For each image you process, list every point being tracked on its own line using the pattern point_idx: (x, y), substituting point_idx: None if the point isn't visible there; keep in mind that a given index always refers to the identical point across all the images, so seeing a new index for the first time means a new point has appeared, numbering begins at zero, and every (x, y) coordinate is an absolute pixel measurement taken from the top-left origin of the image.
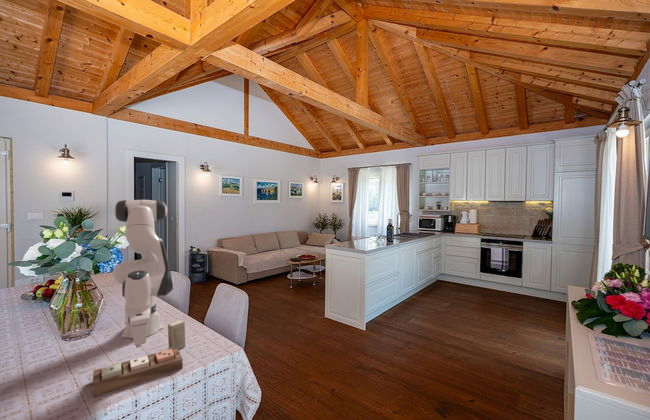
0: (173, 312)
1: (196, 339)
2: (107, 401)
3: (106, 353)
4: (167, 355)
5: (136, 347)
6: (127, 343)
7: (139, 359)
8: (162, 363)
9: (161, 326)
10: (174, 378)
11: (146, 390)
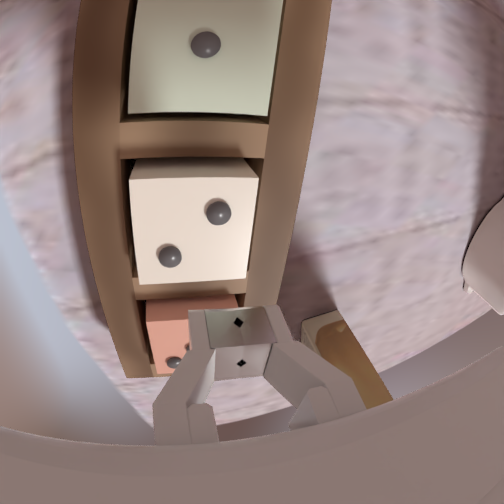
0: (490, 306)
1: None
2: (16, 54)
3: (481, 116)
4: (166, 356)
5: (189, 311)
6: (482, 190)
7: (220, 235)
8: (124, 322)
9: (470, 289)
10: (63, 314)
11: (14, 218)
